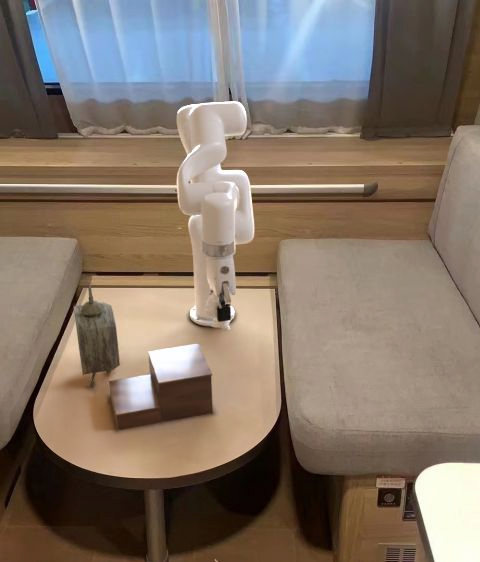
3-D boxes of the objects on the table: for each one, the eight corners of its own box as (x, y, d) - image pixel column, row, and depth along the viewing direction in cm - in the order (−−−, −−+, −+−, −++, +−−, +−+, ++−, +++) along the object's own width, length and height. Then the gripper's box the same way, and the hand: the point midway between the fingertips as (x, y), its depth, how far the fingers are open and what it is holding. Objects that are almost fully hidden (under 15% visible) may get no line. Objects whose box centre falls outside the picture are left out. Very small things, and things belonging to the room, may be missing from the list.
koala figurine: (238, 331, 180) (238, 286, 175) (211, 335, 179) (209, 290, 173) (230, 314, 188) (229, 270, 182) (203, 317, 186) (202, 274, 181)
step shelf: (110, 396, 181) (106, 357, 176) (199, 381, 186) (198, 343, 181) (118, 430, 170) (113, 390, 165) (213, 413, 174) (212, 373, 169)
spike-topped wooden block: (80, 360, 195) (69, 274, 184) (115, 355, 197) (106, 269, 186) (85, 392, 183) (73, 302, 171) (122, 387, 185) (113, 297, 173)
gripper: (245, 260, 167) (245, 329, 176) (224, 229, 182) (225, 294, 191) (212, 264, 166) (214, 334, 175) (194, 233, 181) (196, 298, 189)
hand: (220, 312), depth 183 cm, fingers closed on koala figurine, 5 cm apart
